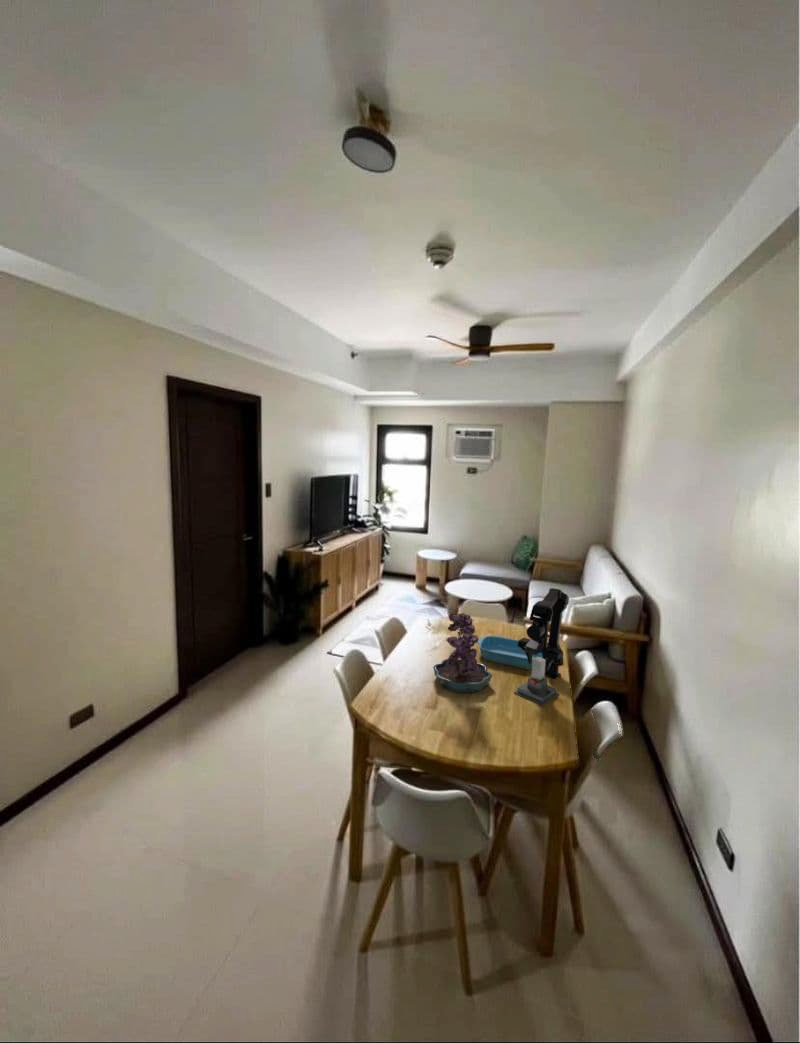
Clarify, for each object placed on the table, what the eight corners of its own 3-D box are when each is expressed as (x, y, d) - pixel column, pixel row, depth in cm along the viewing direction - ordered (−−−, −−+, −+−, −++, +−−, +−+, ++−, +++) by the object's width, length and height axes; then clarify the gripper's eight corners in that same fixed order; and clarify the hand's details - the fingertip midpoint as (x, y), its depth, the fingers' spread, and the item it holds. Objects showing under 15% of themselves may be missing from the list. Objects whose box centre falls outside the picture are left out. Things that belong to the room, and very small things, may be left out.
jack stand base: (530, 682, 199) (531, 668, 198) (559, 694, 189) (560, 679, 188) (513, 692, 189) (514, 677, 188) (543, 705, 179) (545, 690, 178)
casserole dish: (551, 657, 227) (552, 644, 226) (548, 676, 206) (549, 661, 206) (481, 645, 241) (482, 632, 240) (472, 661, 220) (472, 647, 219)
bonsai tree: (438, 664, 215) (441, 600, 212) (494, 672, 208) (497, 607, 204) (421, 699, 182) (424, 624, 178) (487, 710, 174) (491, 633, 171)
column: (535, 680, 191) (536, 656, 190) (544, 683, 188) (545, 659, 187) (530, 683, 189) (532, 659, 187) (539, 686, 186) (541, 662, 184)
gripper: (511, 630, 187) (509, 665, 189) (552, 644, 174) (550, 681, 175) (524, 624, 195) (522, 658, 196) (565, 637, 181) (562, 672, 183)
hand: (538, 667), depth 188 cm, fingers open, 8 cm apart
